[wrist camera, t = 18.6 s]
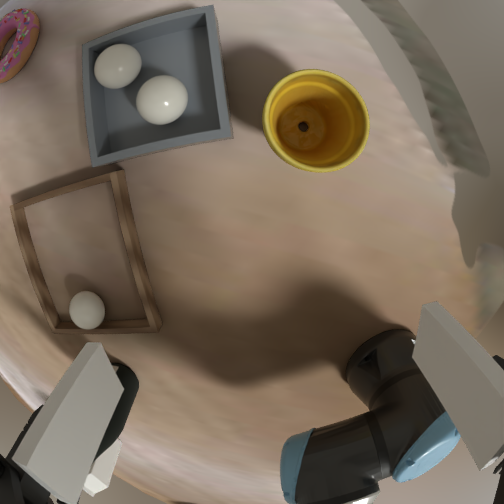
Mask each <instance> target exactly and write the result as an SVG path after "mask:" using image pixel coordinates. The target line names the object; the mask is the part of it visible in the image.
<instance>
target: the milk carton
mask: <svg viewBox="0 0 504 504" xmlns="http://www.w3.org/2000/svg"><path fill="white" fill-rule="evenodd" d="M121 446H122V442H121V441H120V440H119V439H118V438H117V439H116V441H115V442H114V443H113V444H112V445H111V446H110V447H109V448H108V449H107V450H106V451H104V452H103V453H102V454H101V455H100V456H99V457H98V458H97V459H96V460H95V462H94V463H93V464H92V466H91V468H90V470H89V473H88V475H87V478H86V481H85V484H84V487H83V490H84V491H85V492H87V493H88V494H90V495H91V496H93V497H94V494H95V493H97V492H99V491H101V490H103V489H106V488H107V487H108V486H109V482H110V479H111V476H112V473H113V470H114V467H115V464H116V461H117V458H118V455H119V452H120V449H121Z"/></svg>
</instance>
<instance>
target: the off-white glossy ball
mask: <svg viewBox="0 0 504 504" xmlns="http://www.w3.org/2000/svg"><path fill="white" fill-rule="evenodd" d="M187 103H188V93H187V90H186V87H185V85H184V84H183V83H182V82H181V81H180V80H179V79H177V78H175V77H173V76H169V75H159V76H155V77H153V78H151V79H149V80H148V81H146V82H145V83H144V84H143V85H142V86H141V88H140V89H139V91H138V94H137V97H136V106H137V110H138V112H139V114H140V115H141V117H142V118H143V119H144V120H146V121H147V122H149V123H152V124H156V125H164V124H168V123H171V122H173V121H175V120H176V119H178V118H179V117H180V116H181V115H182V114H183V112H184V111H185V109H186V106H187Z"/></svg>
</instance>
